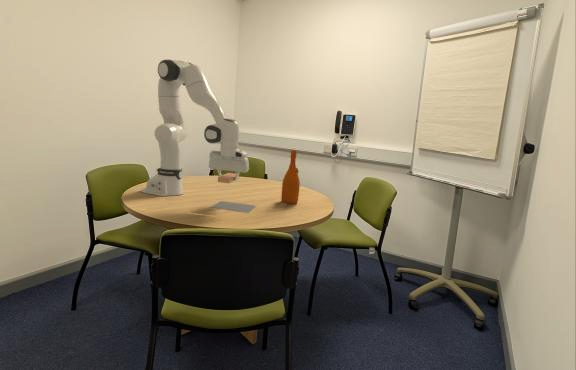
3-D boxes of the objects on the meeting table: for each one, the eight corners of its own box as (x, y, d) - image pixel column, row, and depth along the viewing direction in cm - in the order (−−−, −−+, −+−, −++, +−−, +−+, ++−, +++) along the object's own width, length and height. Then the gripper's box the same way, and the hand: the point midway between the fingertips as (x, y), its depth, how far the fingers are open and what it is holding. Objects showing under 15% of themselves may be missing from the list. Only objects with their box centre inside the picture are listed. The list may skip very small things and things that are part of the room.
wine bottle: (296, 205, 196) (301, 151, 190) (279, 203, 198) (283, 149, 192) (299, 201, 205) (304, 150, 200) (282, 199, 207) (287, 148, 201)
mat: (209, 208, 174) (209, 207, 174) (220, 202, 189) (220, 200, 189) (248, 214, 171) (248, 212, 171) (256, 206, 185) (256, 205, 185)
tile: (227, 177, 186) (217, 181, 172) (228, 172, 185) (217, 176, 172) (238, 178, 185) (229, 183, 171) (238, 174, 184) (229, 178, 171)
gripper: (207, 150, 174) (206, 178, 176) (246, 154, 170) (245, 182, 173) (212, 149, 180) (211, 176, 183) (250, 153, 176) (249, 180, 179)
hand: (228, 179), depth 178 cm, fingers closed on tile, 6 cm apart
